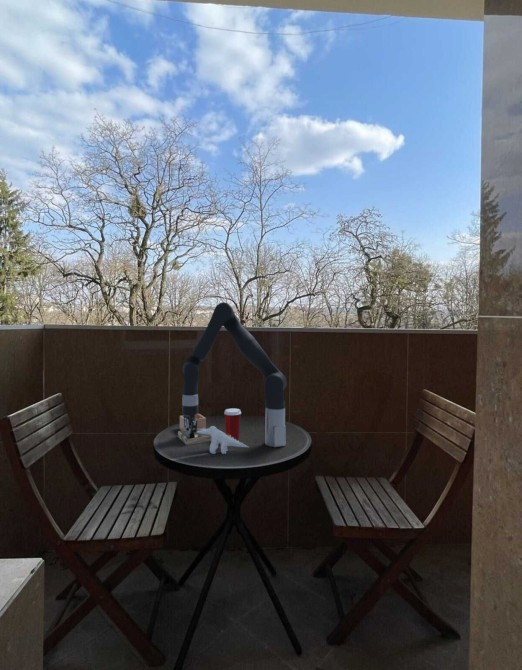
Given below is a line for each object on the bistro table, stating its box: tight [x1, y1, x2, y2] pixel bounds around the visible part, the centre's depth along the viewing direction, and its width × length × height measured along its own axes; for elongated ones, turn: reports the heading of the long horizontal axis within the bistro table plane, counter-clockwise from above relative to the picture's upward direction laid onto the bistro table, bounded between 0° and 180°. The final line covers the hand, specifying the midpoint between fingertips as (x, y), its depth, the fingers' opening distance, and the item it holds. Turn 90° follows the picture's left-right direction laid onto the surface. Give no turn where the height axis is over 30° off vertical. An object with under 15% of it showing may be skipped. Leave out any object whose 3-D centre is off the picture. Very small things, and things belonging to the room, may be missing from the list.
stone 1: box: [186, 430, 195, 439], centre depth 171 cm, size 4×4×4 cm
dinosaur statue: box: [197, 425, 249, 455], centre depth 157 cm, size 7×24×11 cm, turn 84°
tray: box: [177, 429, 212, 446], centre depth 173 cm, size 14×14×4 cm
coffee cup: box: [223, 408, 242, 441], centre depth 172 cm, size 8×8×15 cm
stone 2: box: [198, 427, 207, 437], centre depth 174 cm, size 4×4×4 cm
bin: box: [179, 413, 207, 431], centre depth 187 cm, size 11×11×8 cm
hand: (190, 439), depth 171 cm, fingers open, 4 cm apart
